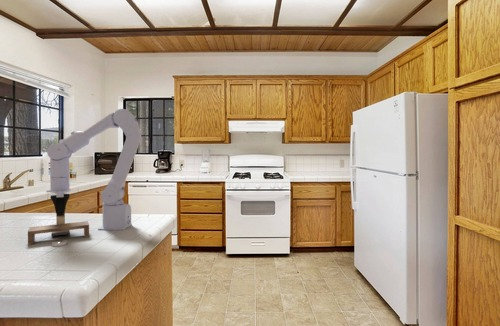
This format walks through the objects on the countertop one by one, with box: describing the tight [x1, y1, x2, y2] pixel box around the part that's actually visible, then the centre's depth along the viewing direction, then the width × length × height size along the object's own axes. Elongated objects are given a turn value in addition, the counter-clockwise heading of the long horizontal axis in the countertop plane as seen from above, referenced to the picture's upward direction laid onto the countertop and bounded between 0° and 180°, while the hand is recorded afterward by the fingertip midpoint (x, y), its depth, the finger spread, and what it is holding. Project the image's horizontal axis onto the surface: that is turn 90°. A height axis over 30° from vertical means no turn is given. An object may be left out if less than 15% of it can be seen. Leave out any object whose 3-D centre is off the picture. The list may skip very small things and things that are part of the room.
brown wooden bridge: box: [27, 220, 90, 246], centre depth 92 cm, size 16×6×4 cm, turn 123°
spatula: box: [50, 212, 71, 237], centre depth 99 cm, size 12×5×9 cm, turn 33°
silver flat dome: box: [50, 239, 68, 248], centre depth 86 cm, size 4×4×1 cm
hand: (60, 214), depth 103 cm, fingers closed on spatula
